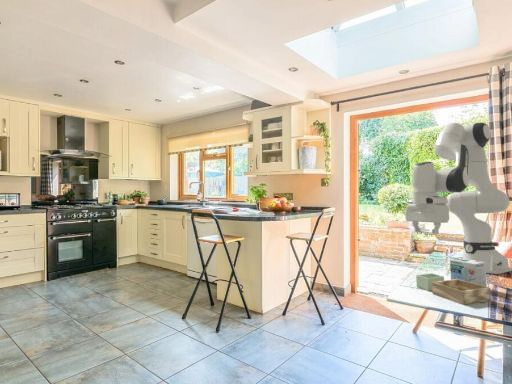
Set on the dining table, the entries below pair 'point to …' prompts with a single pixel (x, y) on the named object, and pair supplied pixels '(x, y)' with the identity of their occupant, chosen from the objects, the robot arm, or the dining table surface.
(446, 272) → the dining table surface
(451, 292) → the birch crate
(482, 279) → the light bulb box
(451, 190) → the robot arm
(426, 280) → the green crate
